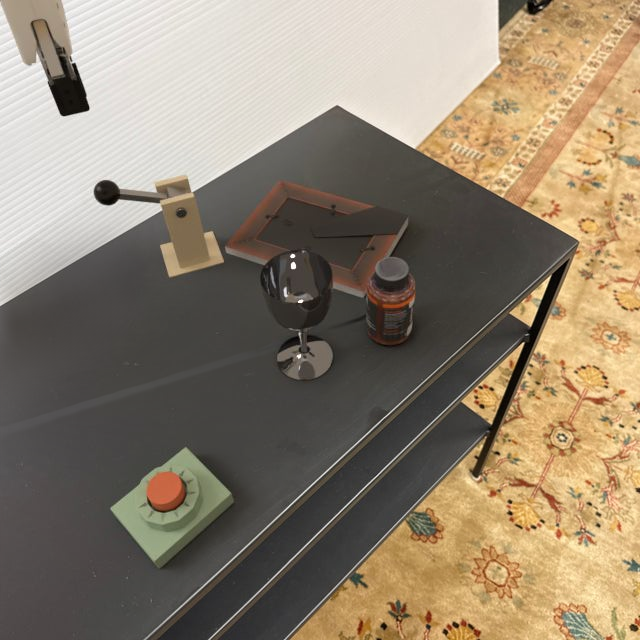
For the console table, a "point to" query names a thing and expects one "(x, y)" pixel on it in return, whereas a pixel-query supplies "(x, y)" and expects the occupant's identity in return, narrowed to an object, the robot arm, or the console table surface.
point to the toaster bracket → (185, 232)
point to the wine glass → (299, 309)
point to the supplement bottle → (390, 302)
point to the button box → (180, 523)
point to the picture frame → (320, 232)
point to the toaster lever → (131, 194)
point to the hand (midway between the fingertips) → (74, 105)
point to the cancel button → (165, 491)
